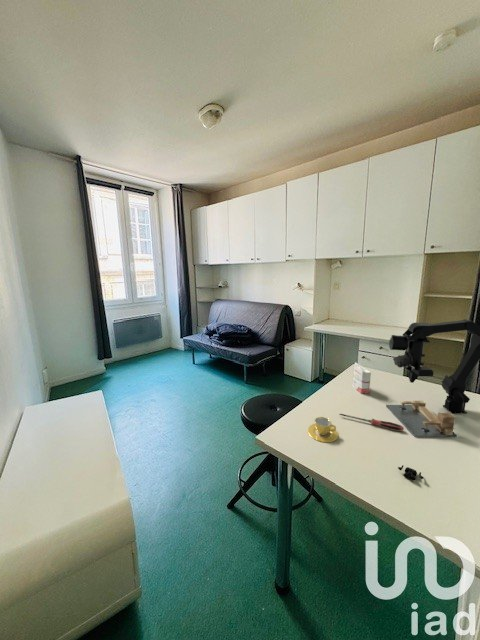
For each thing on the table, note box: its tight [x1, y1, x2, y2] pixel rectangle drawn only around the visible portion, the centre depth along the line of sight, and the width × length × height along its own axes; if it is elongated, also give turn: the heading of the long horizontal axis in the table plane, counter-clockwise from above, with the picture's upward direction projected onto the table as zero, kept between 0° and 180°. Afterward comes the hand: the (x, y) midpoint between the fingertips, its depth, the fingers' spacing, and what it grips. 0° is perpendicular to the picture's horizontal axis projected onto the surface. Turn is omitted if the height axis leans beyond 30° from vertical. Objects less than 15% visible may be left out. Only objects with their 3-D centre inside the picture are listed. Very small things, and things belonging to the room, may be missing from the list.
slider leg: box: [423, 412, 456, 432], centre depth 102 cm, size 10×3×6 cm, turn 87°
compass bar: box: [399, 400, 454, 435], centre depth 111 cm, size 10×22×3 cm, turn 177°
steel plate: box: [385, 404, 458, 438], centre depth 111 cm, size 16×22×1 cm
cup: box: [307, 416, 339, 443], centre depth 105 cm, size 12×12×5 cm
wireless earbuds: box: [397, 465, 425, 482], centre depth 83 cm, size 7×2×5 cm
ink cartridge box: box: [352, 362, 372, 394], centre depth 138 cm, size 9×5×15 cm, turn 6°
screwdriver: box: [338, 413, 405, 432], centre depth 110 cm, size 25×3×3 cm, turn 62°
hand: (411, 382), depth 120 cm, fingers closed
